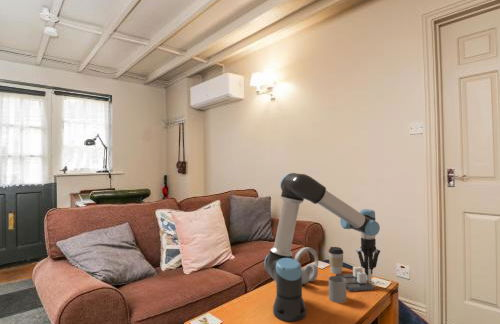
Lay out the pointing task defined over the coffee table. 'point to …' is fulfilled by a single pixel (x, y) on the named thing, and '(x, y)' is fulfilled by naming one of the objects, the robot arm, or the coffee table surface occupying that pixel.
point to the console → (355, 283)
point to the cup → (337, 289)
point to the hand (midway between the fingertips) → (368, 280)
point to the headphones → (308, 266)
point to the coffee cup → (336, 259)
